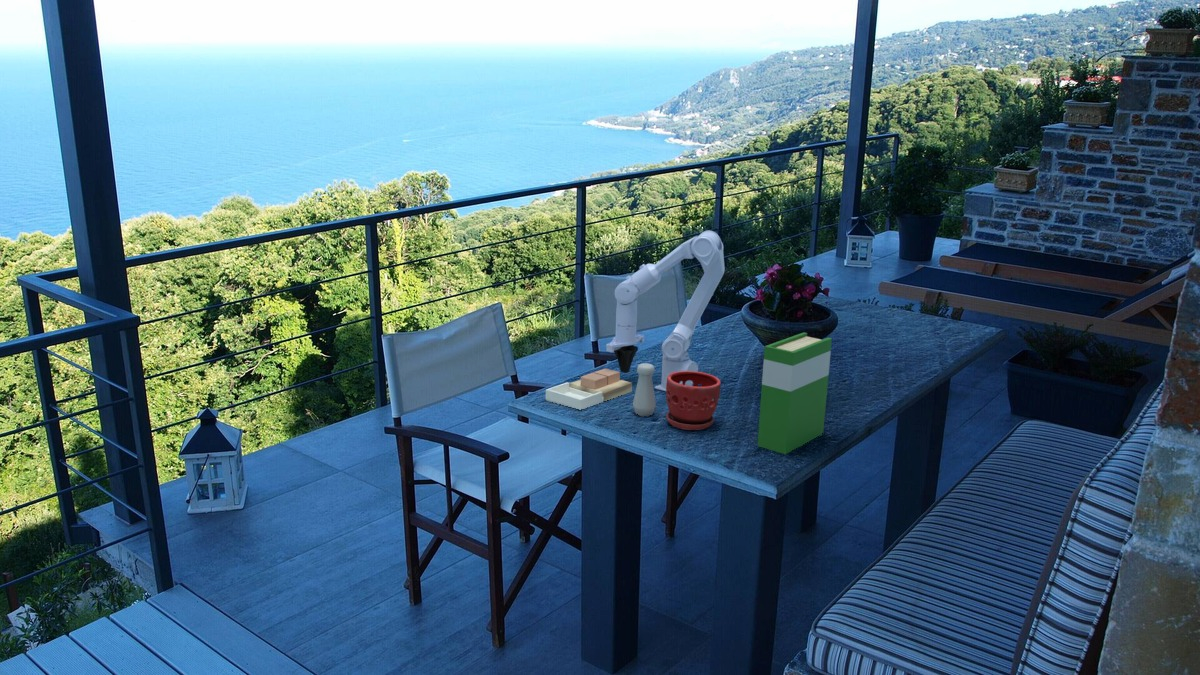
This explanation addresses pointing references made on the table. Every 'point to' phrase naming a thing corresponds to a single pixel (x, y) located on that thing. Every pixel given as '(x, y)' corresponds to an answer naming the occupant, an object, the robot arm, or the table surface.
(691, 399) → the plant pot
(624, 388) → the board
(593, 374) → the tile front
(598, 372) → the tile rear
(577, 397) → the box
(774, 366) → the hardback book
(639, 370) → the salt shaker
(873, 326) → the table surface
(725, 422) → the table surface
